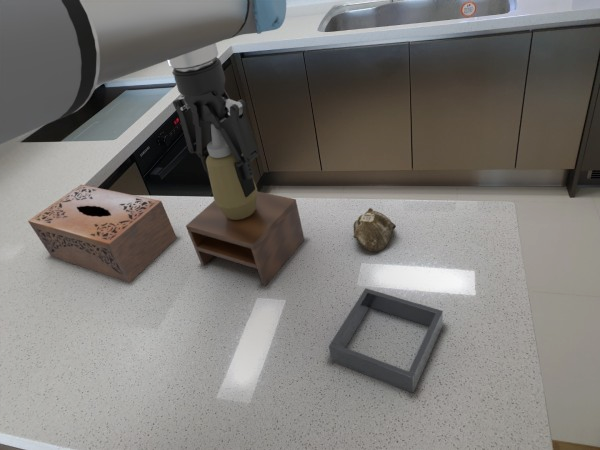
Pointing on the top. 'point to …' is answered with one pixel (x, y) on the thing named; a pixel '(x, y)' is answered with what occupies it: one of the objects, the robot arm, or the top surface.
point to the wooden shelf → (250, 235)
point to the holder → (374, 366)
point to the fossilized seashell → (373, 230)
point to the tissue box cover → (105, 231)
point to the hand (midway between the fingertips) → (233, 189)
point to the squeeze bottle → (227, 180)
